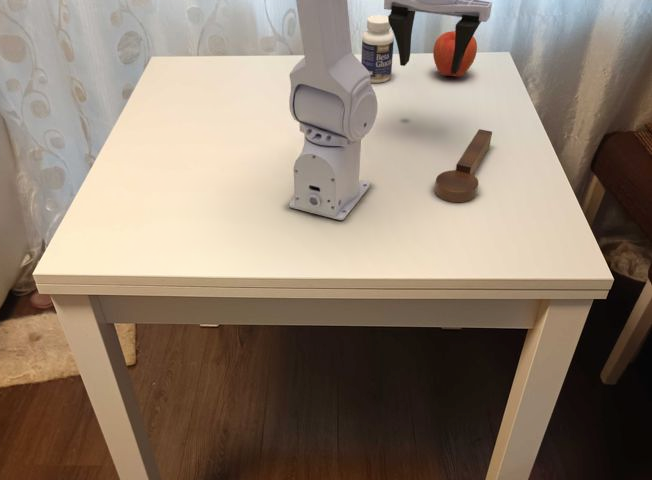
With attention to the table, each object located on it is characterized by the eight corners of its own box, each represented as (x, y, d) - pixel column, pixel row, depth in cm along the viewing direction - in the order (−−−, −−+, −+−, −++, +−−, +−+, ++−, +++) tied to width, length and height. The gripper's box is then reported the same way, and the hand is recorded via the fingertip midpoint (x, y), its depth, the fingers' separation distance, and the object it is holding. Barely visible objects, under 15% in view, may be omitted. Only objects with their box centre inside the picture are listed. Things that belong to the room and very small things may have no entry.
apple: (464, 65, 116) (471, 18, 110) (478, 81, 111) (486, 33, 105) (425, 68, 115) (430, 21, 109) (437, 85, 110) (443, 37, 104)
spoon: (464, 142, 96) (467, 126, 94) (501, 150, 94) (504, 133, 92) (429, 196, 86) (431, 179, 84) (469, 206, 84) (473, 189, 82)
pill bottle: (376, 86, 110) (379, 26, 104) (354, 77, 113) (356, 19, 106) (397, 77, 113) (401, 18, 106) (375, 68, 116) (378, 10, 109)
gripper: (504, -42, 83) (486, 64, 93) (399, -52, 88) (392, 50, 97) (490, -27, 79) (472, 83, 88) (380, -38, 83) (375, 67, 93)
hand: (429, 67), depth 92 cm, fingers open, 7 cm apart
